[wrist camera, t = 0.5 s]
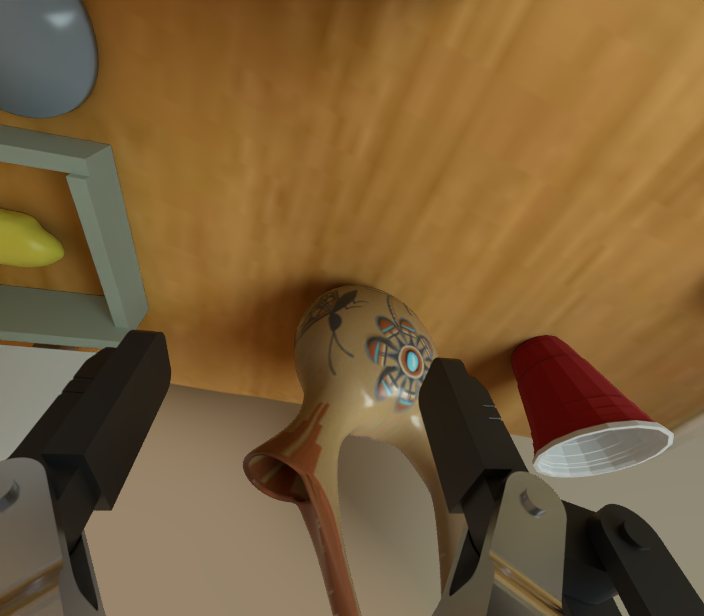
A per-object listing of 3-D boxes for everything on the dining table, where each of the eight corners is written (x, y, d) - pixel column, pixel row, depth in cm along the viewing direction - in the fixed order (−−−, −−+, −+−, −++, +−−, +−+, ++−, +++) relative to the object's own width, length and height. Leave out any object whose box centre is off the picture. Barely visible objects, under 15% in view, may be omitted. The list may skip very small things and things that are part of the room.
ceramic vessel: (260, 306, 31) (154, 767, 12) (302, 227, 26) (238, 789, 7) (403, 359, 37) (489, 719, 18) (459, 303, 32) (659, 714, 13)
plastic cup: (467, 372, 39) (510, 478, 30) (534, 306, 33) (615, 414, 24) (535, 391, 42) (594, 492, 33) (608, 334, 36) (704, 438, 27)
